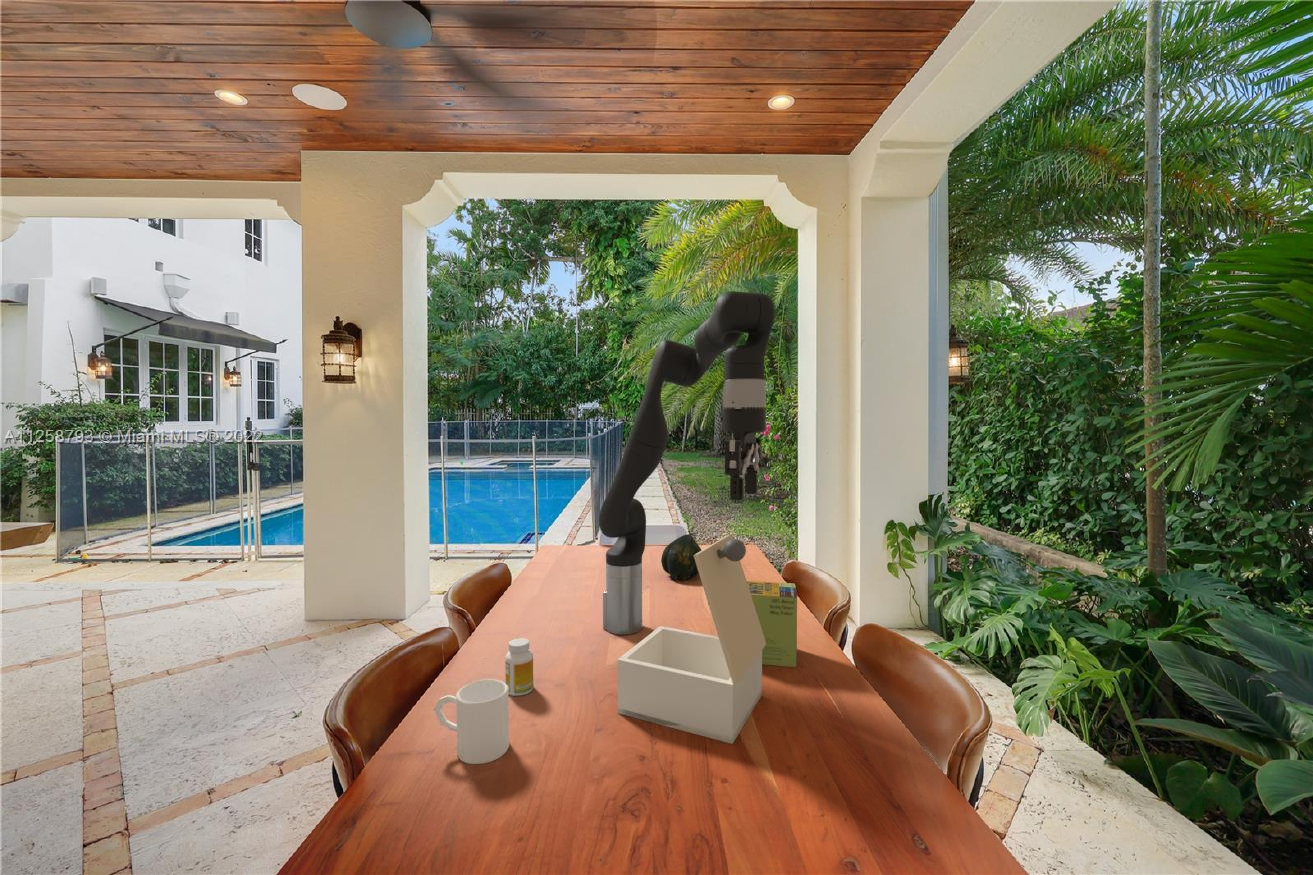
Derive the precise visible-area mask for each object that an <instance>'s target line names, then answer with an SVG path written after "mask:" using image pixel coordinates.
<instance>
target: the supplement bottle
mask: <svg viewBox="0 0 1313 875" xmlns="http://www.w3.org/2000/svg"><path fill="white" fill-rule="evenodd" d="M504 660H505V661H504V663H505V665H504V666H505V667H504V669H505V670H504V671H505V676H504V677H505V683H506V684H507V685H508V691H509V696H512V697H513V696H516V697H519V696H525V695H527V694H529V693H531V692H532V691H533V689H534V655H533V652H532V650H531V649H530V640H529V639H527V638H522V637H519V638H514V639H512V640H510V641H509V642H508V652H507V653H506V654H505V658H504Z"/></svg>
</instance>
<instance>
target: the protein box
mask: <svg viewBox="0 0 1313 875" xmlns="http://www.w3.org/2000/svg"><path fill="white" fill-rule="evenodd" d="M746 581H747V584H748V587H749V590H750V594H751V597H752V600H753V603H754V606H755V609H756V613H757V616H758V619H759V622H760V625H761V628H762V632H763V635H764V638H765V641H766V645H765V647H764V648H763V649H762V665H765V666H766V665H767V666H775V667H776V666H777V667H787V668H796V667H797V662H798V659H797V658H798V657H797V654H798V653H797V652H798V650H797V648H798V593H797V587H796V583H791V582H773V581H772V582H770V581H755V580H754V581H751V580H746Z"/></svg>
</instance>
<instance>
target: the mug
mask: <svg viewBox="0 0 1313 875" xmlns="http://www.w3.org/2000/svg"><path fill="white" fill-rule="evenodd" d="M509 696H510V695H509V691H508V685H507V684H506V682H505V681H502V680H499V679H495V678H494V679H492V678H489V679H488V678H487V679H479V680H475V681H472V682H469V683H467V684H465V685H464V686H462V687H461V688H460V689H459V690H458V691H457V692H456V696H455V695H454V696H453V695H451V694H447V695H445V696H442V697H439V700H438V701H437V703H436V705H435V707H434V709H433V711H434V713H435V715H436V718H437V719H438V721H439V724H440V725H441V726H442V727H445V728H447V729H448V730H450V731H454V732H456V738H457V739H456V746H457V748H456V750H457V752H456V753H457V754H456V755H457V757H458V758H459V760H460V761H461V762H462V763H466V764H469V765H483V764H487V763H488V764H489V763H491V762H493V761H496V760H497V759H499V758H501V757H502V756H504V755H505V754H506V753H507V752H508V749H509V747H510V708H509V706H510V704H509V703H510V702H509V699H510V698H509ZM449 703H453V704H456V723H454V722H452V721H450V720H448V719H447V718H446V714H445V713H444V712H443V709H442V708H443V707H444V705H445V704H449Z"/></svg>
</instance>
